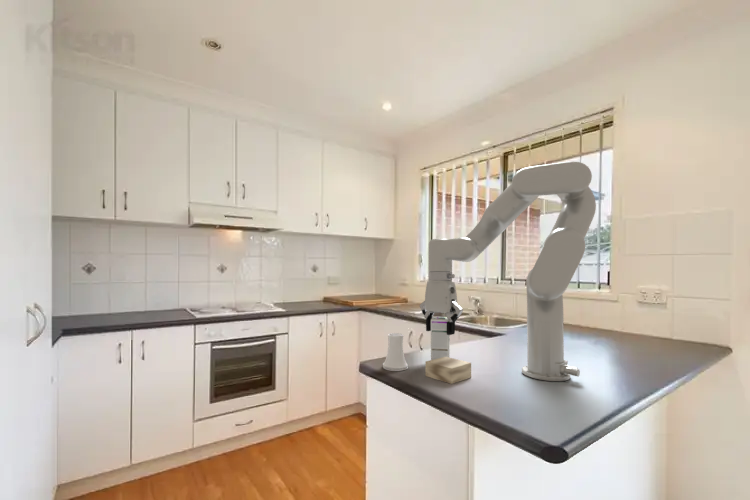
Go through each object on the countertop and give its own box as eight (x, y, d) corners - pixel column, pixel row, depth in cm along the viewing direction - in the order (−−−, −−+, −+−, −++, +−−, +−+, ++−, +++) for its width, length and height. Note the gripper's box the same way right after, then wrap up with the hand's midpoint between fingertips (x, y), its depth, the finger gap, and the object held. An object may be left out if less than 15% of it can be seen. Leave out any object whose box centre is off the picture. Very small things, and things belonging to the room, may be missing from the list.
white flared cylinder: (392, 362, 115) (393, 331, 116) (412, 367, 111) (412, 334, 111) (377, 367, 110) (378, 334, 110) (398, 372, 105) (398, 337, 105)
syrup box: (449, 366, 112) (449, 319, 112) (430, 365, 113) (430, 318, 113) (449, 362, 117) (449, 317, 118) (431, 360, 118) (431, 316, 119)
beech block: (471, 377, 101) (471, 362, 101) (451, 383, 95) (451, 368, 95) (445, 370, 108) (445, 356, 108) (425, 375, 102) (425, 361, 102)
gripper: (470, 278, 112) (470, 335, 111) (427, 276, 125) (426, 327, 124) (455, 278, 107) (455, 338, 106) (412, 276, 120) (411, 330, 119)
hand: (440, 332), depth 115 cm, fingers closed on syrup box, 7 cm apart
